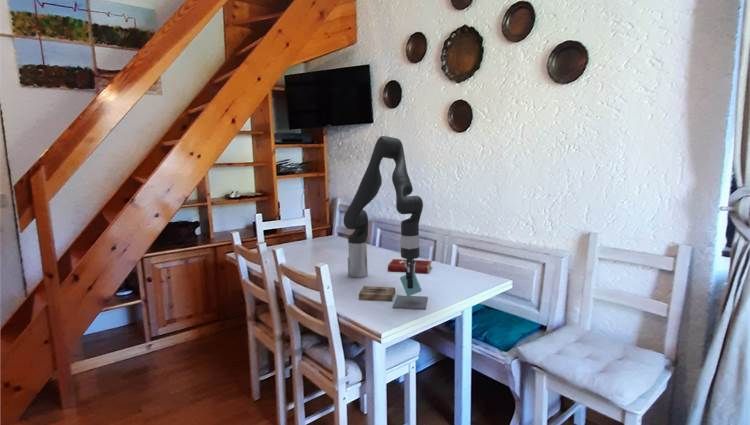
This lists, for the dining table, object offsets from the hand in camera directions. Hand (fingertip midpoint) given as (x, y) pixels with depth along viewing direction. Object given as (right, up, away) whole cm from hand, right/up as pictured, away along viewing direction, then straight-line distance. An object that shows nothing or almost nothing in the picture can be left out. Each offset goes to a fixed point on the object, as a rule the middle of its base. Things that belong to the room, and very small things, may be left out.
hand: (410, 287), depth 168 cm
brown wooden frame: (-13, -6, +10) cm, 18 cm away
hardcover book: (+4, 0, +48) cm, 48 cm away
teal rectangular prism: (+2, -2, 0) cm, 3 cm away
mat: (0, -7, +1) cm, 7 cm away
